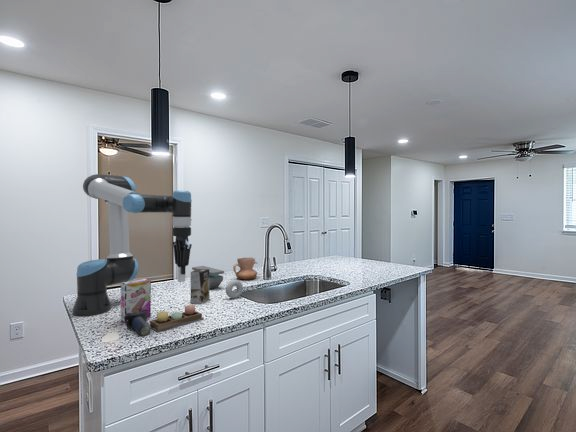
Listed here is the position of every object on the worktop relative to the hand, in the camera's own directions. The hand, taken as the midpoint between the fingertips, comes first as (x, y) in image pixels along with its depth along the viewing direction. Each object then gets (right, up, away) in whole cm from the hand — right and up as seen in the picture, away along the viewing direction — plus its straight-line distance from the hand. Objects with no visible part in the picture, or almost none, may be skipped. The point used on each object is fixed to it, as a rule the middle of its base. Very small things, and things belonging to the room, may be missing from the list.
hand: (181, 281), depth 134 cm
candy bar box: (-20, -17, +1) cm, 26 cm away
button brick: (+4, -13, 0) cm, 14 cm away
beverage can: (-12, -17, -13) cm, 24 cm away
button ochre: (-5, -14, -9) cm, 17 cm away
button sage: (-1, -15, -4) cm, 16 cm away
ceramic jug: (+17, -15, +81) cm, 84 cm away
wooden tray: (-1, -17, -4) cm, 17 cm away
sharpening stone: (-4, -16, +59) cm, 61 cm away
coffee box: (0, -16, +27) cm, 32 cm away
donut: (+17, -16, +33) cm, 40 cm away
